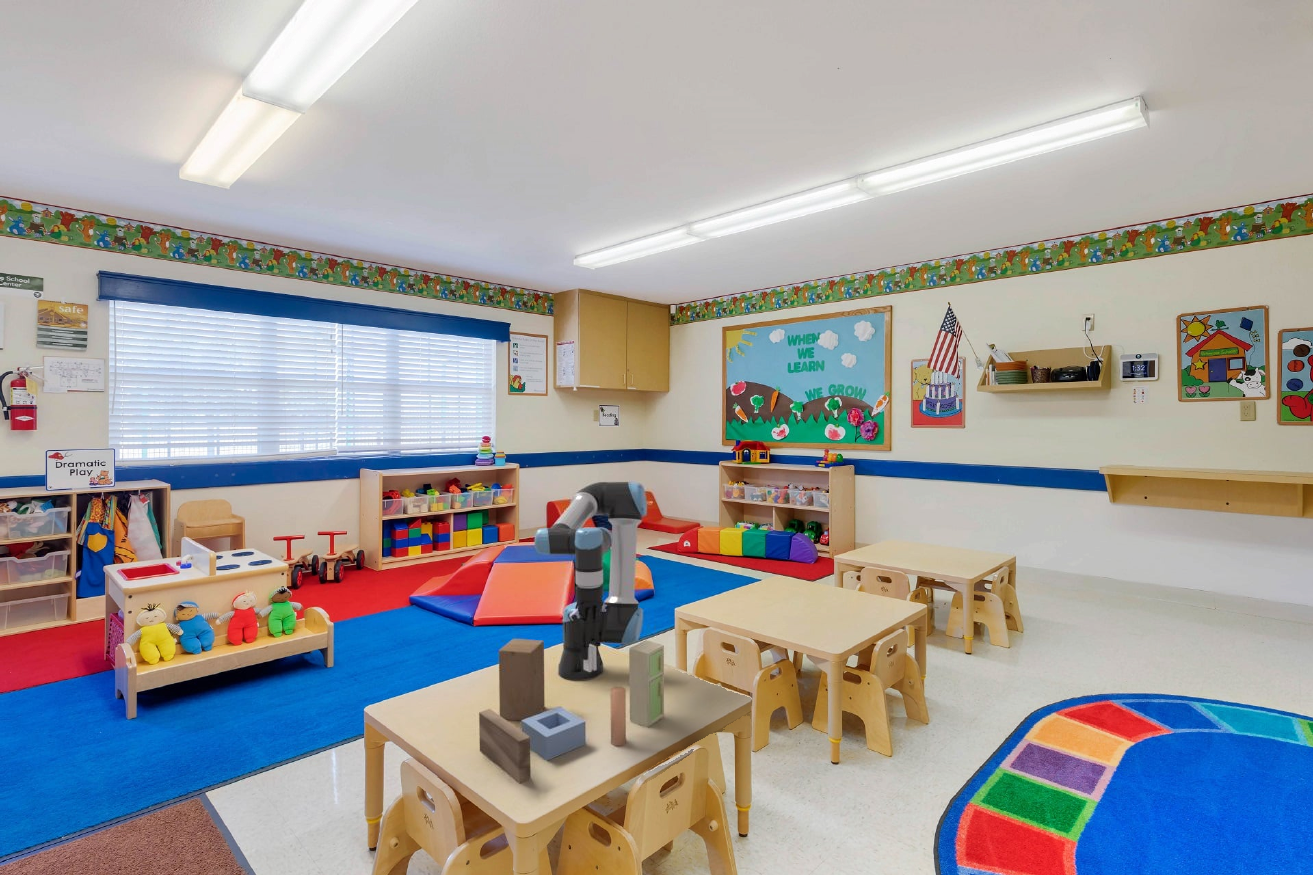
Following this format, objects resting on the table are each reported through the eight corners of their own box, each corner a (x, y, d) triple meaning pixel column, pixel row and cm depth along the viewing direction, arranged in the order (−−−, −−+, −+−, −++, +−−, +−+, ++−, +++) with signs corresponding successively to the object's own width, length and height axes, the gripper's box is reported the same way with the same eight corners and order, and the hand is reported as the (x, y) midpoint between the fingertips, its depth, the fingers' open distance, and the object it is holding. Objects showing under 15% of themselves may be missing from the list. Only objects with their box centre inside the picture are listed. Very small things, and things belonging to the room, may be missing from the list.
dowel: (619, 736, 169) (619, 685, 169) (629, 742, 166) (628, 689, 166) (607, 741, 167) (607, 689, 166) (617, 747, 164) (616, 694, 163)
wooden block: (531, 722, 178) (531, 652, 177) (499, 719, 180) (498, 649, 179) (545, 706, 187) (544, 640, 187) (513, 703, 189) (513, 637, 189)
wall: (490, 746, 165) (489, 708, 164) (530, 778, 150) (530, 736, 150) (479, 750, 163) (479, 712, 162) (519, 783, 148) (518, 741, 148)
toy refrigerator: (649, 728, 174) (649, 653, 173) (629, 721, 178) (628, 647, 177) (666, 717, 180) (666, 645, 179) (646, 710, 184) (646, 639, 184)
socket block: (560, 727, 174) (559, 706, 174) (585, 743, 166) (585, 721, 165) (521, 742, 166) (521, 720, 166) (546, 760, 157) (546, 736, 157)
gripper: (601, 577, 180) (602, 659, 181) (560, 586, 171) (561, 672, 172) (617, 582, 175) (618, 666, 176) (576, 592, 165) (577, 680, 166)
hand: (590, 669), depth 174 cm, fingers closed
